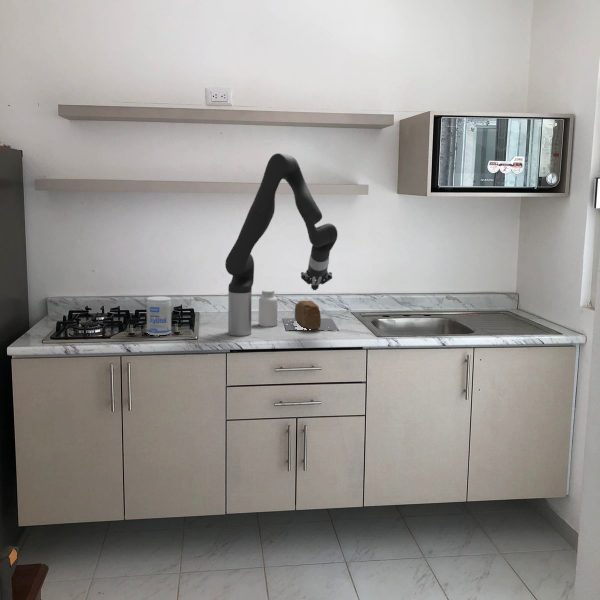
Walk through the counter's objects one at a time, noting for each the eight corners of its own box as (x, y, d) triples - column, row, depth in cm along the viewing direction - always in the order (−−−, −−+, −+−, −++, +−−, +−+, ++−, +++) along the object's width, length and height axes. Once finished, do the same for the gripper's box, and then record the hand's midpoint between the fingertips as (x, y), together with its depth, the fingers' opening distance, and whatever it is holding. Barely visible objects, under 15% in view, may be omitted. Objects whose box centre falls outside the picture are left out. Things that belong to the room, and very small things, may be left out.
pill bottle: (259, 327, 312) (259, 292, 310) (257, 323, 320) (257, 288, 317) (278, 327, 314) (278, 291, 311) (275, 322, 321) (276, 288, 319)
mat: (286, 331, 306) (286, 330, 306) (282, 318, 330) (282, 318, 330) (339, 330, 308) (339, 330, 308) (331, 319, 332) (331, 318, 332)
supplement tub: (149, 337, 290) (148, 300, 288) (144, 332, 299) (143, 296, 296) (174, 336, 294) (173, 299, 291) (168, 331, 303) (167, 295, 300)
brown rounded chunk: (304, 331, 305) (293, 321, 324) (321, 330, 307) (310, 321, 326) (304, 305, 303) (293, 297, 322) (321, 304, 305) (310, 296, 324)
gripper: (334, 254, 290) (329, 280, 304) (301, 254, 289) (297, 280, 303) (336, 270, 286) (331, 296, 300) (302, 270, 284) (298, 295, 299)
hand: (314, 288), depth 301 cm, fingers closed
